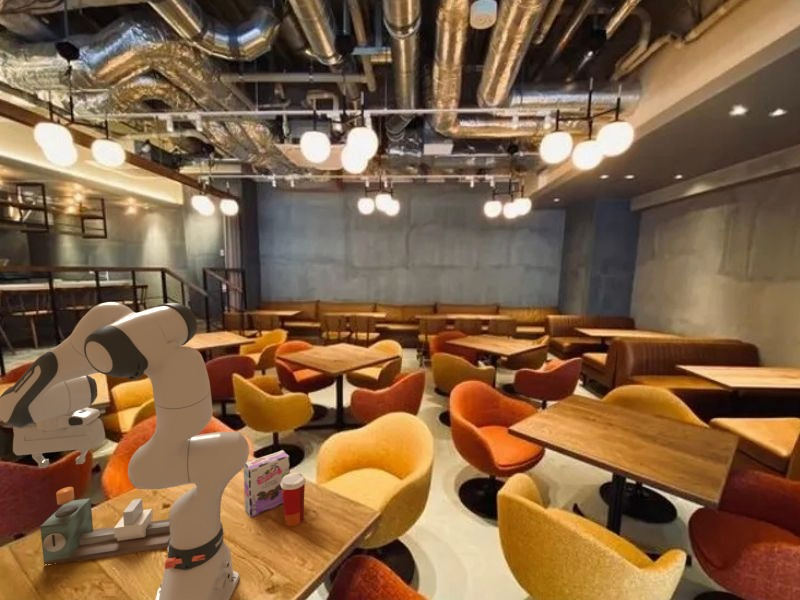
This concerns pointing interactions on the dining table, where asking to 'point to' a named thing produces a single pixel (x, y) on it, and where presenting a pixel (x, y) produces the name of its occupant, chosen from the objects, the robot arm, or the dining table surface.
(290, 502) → the paper cup
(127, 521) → the carriage
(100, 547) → the rail base
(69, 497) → the button
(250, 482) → the candy box
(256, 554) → the dining table surface
